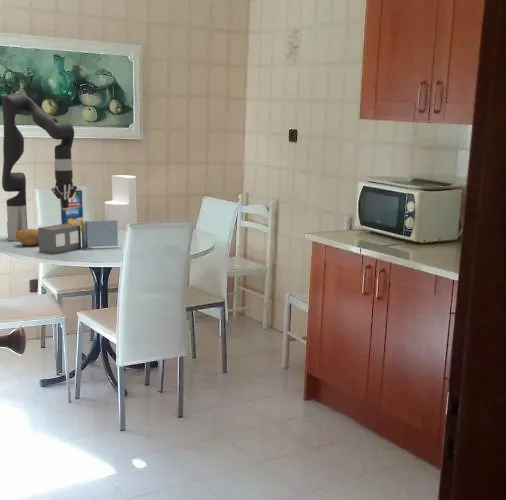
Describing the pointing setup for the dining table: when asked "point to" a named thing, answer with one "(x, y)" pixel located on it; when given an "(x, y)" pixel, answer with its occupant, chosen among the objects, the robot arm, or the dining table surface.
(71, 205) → the blue cardboard box
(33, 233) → the potato
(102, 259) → the dining table surface
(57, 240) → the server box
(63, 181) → the robot arm
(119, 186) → the white l-shaped bracket
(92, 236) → the dough scraper
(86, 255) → the dining table surface
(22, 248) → the dining table surface
